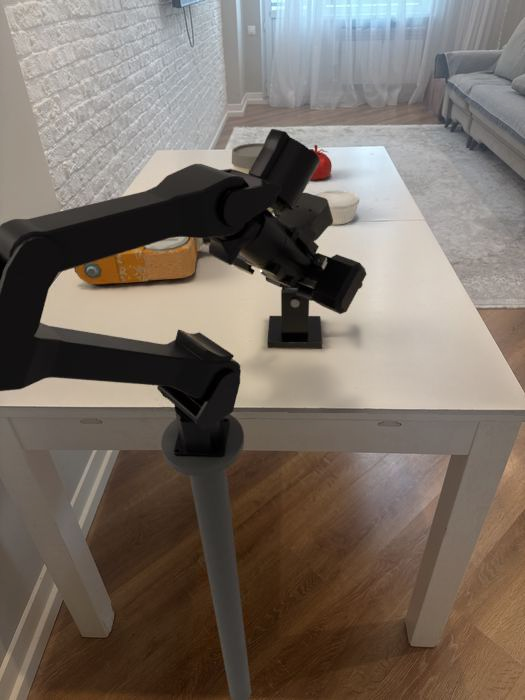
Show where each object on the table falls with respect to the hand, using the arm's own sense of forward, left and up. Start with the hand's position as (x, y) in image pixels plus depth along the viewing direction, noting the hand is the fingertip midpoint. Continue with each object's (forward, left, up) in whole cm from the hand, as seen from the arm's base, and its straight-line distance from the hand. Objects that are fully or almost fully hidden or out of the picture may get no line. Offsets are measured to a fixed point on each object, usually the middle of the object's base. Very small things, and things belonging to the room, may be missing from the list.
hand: (320, 288), depth 70 cm
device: (+35, +34, -14) cm, 50 cm away
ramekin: (+59, -6, -14) cm, 61 cm away
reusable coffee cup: (+66, +14, -14) cm, 69 cm away
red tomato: (+91, -2, -14) cm, 92 cm away
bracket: (+8, +4, -14) cm, 16 cm away
